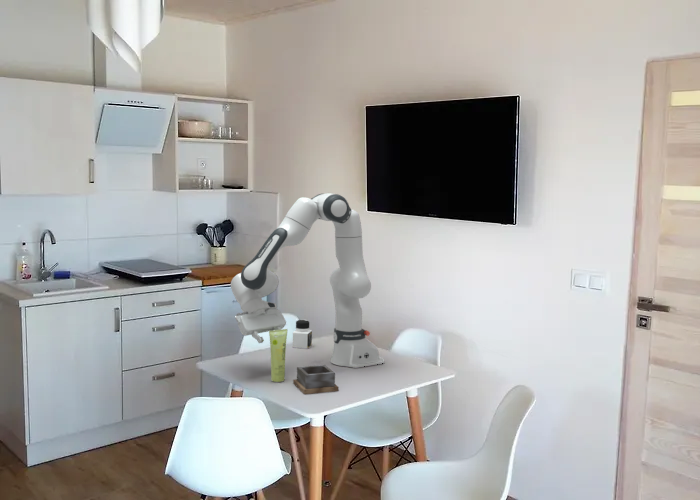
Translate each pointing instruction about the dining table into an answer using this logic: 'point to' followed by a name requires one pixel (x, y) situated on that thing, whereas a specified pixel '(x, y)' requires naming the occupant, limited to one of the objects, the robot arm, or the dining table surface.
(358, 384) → the dining table surface
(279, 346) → the tube
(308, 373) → the holder
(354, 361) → the robot arm
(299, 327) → the medicine bottle
